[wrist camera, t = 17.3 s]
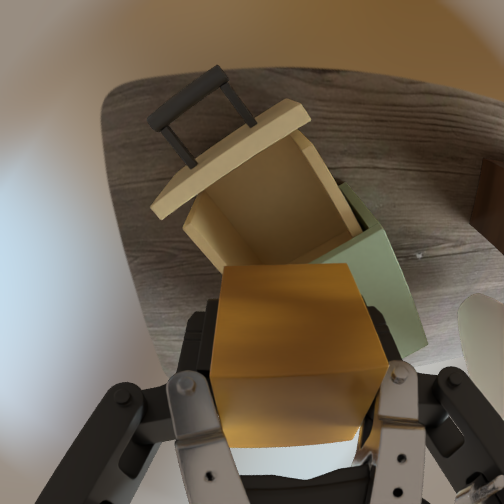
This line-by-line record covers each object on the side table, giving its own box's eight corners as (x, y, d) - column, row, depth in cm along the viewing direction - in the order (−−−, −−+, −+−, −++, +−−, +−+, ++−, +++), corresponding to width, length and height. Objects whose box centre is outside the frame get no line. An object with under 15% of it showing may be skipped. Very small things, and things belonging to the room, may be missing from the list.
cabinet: (233, 248, 31) (226, 313, 23) (345, 181, 27) (383, 227, 19) (304, 334, 37) (314, 398, 29) (396, 286, 33) (428, 344, 25)
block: (231, 349, 14) (225, 448, 9) (223, 265, 11) (208, 376, 7) (331, 345, 14) (352, 440, 9) (347, 262, 11) (390, 365, 7)
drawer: (141, 130, 24) (102, 150, 17) (252, 50, 21) (252, 35, 14) (261, 279, 32) (263, 334, 25) (361, 222, 28) (390, 267, 22)
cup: (447, 257, 32) (547, 400, 13) (499, 262, 32) (588, 376, 13) (417, 323, 37) (479, 462, 18) (469, 321, 37) (532, 435, 19)
